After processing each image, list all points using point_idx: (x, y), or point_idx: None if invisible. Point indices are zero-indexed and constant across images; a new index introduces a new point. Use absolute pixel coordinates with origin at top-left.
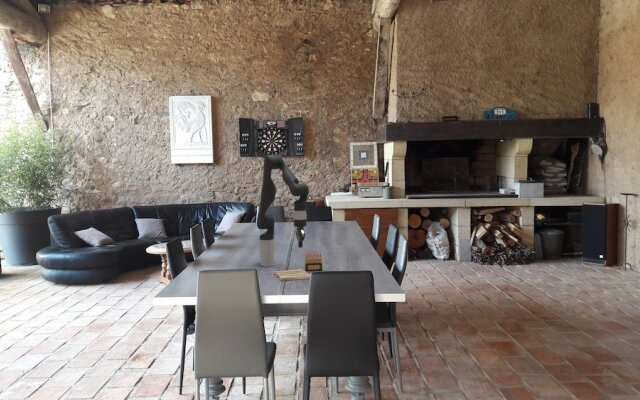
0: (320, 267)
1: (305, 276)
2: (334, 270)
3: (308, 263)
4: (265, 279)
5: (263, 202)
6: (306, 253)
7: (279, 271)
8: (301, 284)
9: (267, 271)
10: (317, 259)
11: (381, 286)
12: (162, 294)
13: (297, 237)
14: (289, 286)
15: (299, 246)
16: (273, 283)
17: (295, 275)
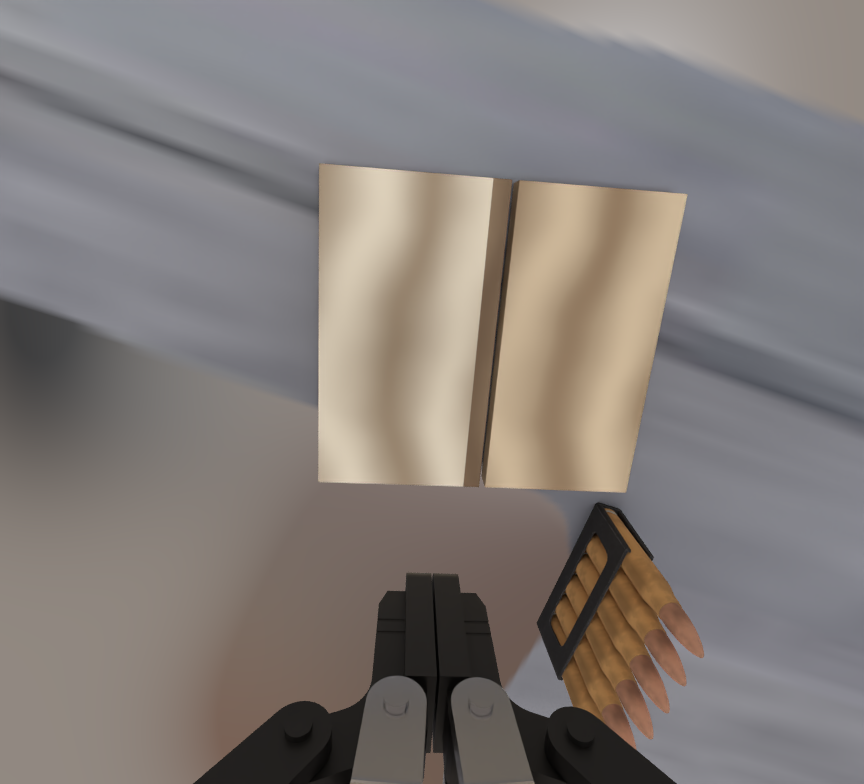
0: (551, 635)
1: (319, 423)
2: None
3: (612, 574)
4: (480, 15)
5: None
6: (685, 642)
7: (653, 255)
8: (121, 309)
9: (822, 170)
10: (590, 678)
11: None
12: None
13: (572, 773)
14: (70, 168)
15: (405, 593)
16: (258, 42)
17: (390, 347)
